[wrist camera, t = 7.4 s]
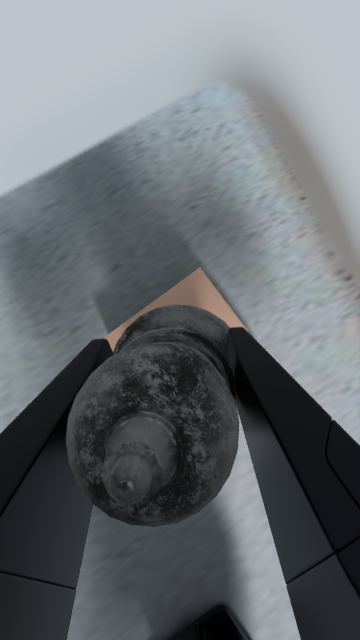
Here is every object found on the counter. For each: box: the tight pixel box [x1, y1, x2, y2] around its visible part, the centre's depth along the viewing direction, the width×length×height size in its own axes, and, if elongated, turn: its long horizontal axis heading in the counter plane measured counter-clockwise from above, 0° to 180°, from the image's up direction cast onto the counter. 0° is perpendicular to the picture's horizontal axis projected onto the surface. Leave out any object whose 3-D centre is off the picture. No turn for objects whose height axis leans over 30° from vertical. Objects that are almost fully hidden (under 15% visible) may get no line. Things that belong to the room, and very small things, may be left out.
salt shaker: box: [66, 304, 239, 527], centre depth 8 cm, size 6×6×12 cm
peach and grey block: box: [102, 267, 248, 351], centre depth 17 cm, size 8×8×4 cm
